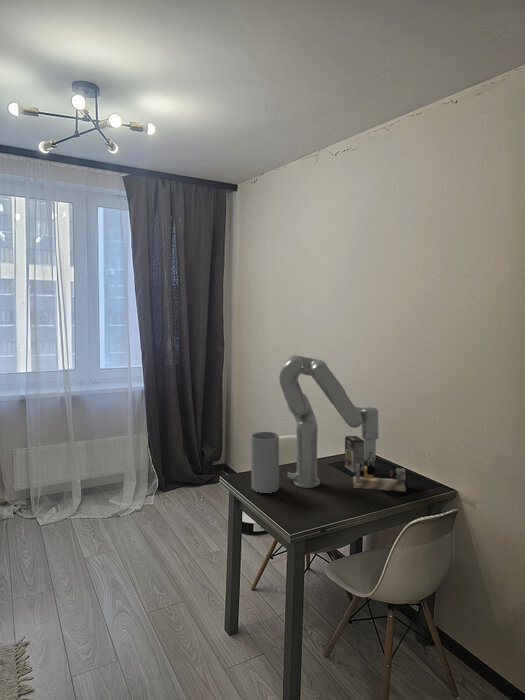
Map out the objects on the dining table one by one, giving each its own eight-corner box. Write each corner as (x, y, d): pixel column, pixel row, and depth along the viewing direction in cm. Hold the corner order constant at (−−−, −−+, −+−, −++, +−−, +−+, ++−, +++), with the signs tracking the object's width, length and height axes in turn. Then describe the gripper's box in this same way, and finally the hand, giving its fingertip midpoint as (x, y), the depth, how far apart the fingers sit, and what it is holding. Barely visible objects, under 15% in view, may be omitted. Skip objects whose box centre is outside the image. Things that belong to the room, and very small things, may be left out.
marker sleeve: (364, 477, 212) (364, 469, 211) (364, 474, 216) (364, 465, 216) (373, 478, 211) (373, 469, 211) (372, 475, 215) (373, 466, 215)
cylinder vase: (279, 494, 204) (279, 439, 201) (251, 494, 204) (250, 440, 201) (278, 483, 216) (278, 431, 213) (251, 483, 216) (251, 431, 213)
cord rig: (353, 487, 210) (353, 469, 209) (353, 479, 220) (353, 462, 219) (405, 491, 206) (406, 472, 205) (403, 482, 216) (403, 465, 215)
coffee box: (344, 466, 237) (344, 436, 235) (355, 465, 239) (355, 435, 237) (352, 473, 228) (353, 441, 227) (364, 471, 230) (364, 440, 229)
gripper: (361, 429, 220) (361, 463, 222) (362, 440, 204) (362, 477, 205) (377, 429, 219) (377, 464, 221) (379, 440, 202) (379, 478, 204)
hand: (370, 470), depth 213 cm, fingers open, 9 cm apart
